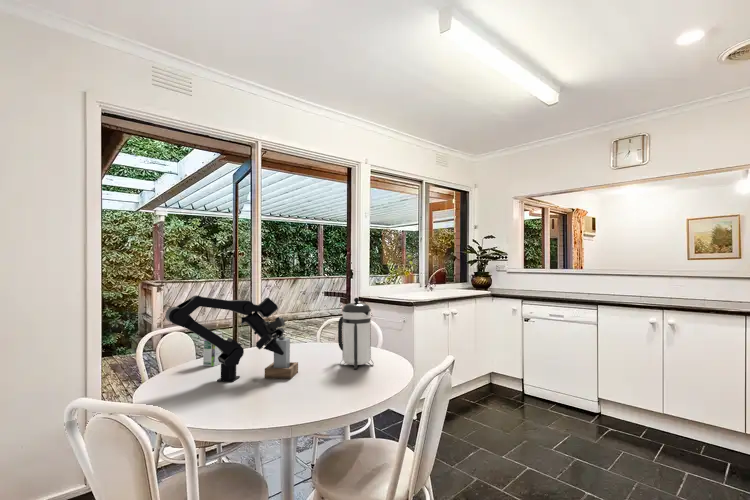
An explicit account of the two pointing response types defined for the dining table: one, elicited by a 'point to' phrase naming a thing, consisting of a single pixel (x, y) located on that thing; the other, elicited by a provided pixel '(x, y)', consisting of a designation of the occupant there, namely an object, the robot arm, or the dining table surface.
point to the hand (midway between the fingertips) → (285, 352)
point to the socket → (281, 371)
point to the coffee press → (355, 334)
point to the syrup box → (211, 353)
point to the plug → (284, 359)
